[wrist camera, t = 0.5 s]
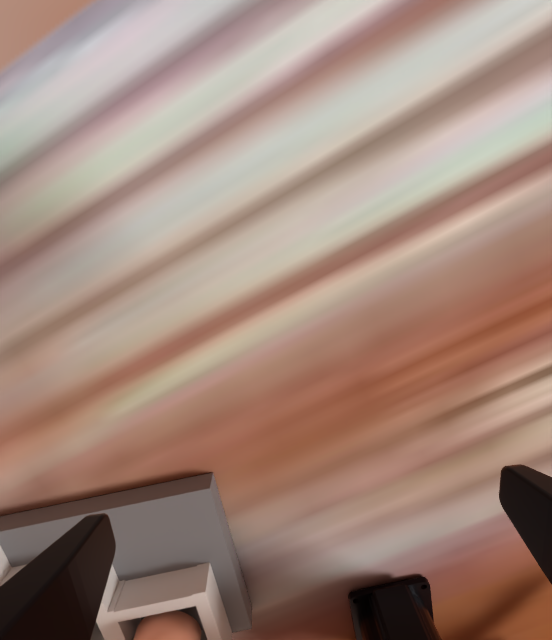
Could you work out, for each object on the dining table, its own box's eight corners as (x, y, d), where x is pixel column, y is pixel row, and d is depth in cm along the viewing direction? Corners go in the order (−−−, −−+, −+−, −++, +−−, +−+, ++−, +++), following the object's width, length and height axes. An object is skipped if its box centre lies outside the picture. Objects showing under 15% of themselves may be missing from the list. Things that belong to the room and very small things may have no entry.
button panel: (251, 607, 27) (251, 661, 23) (-18, 663, 27) (-58, 726, 23) (213, 472, 23) (205, 512, 20) (-96, 536, 23) (-155, 587, 20)
